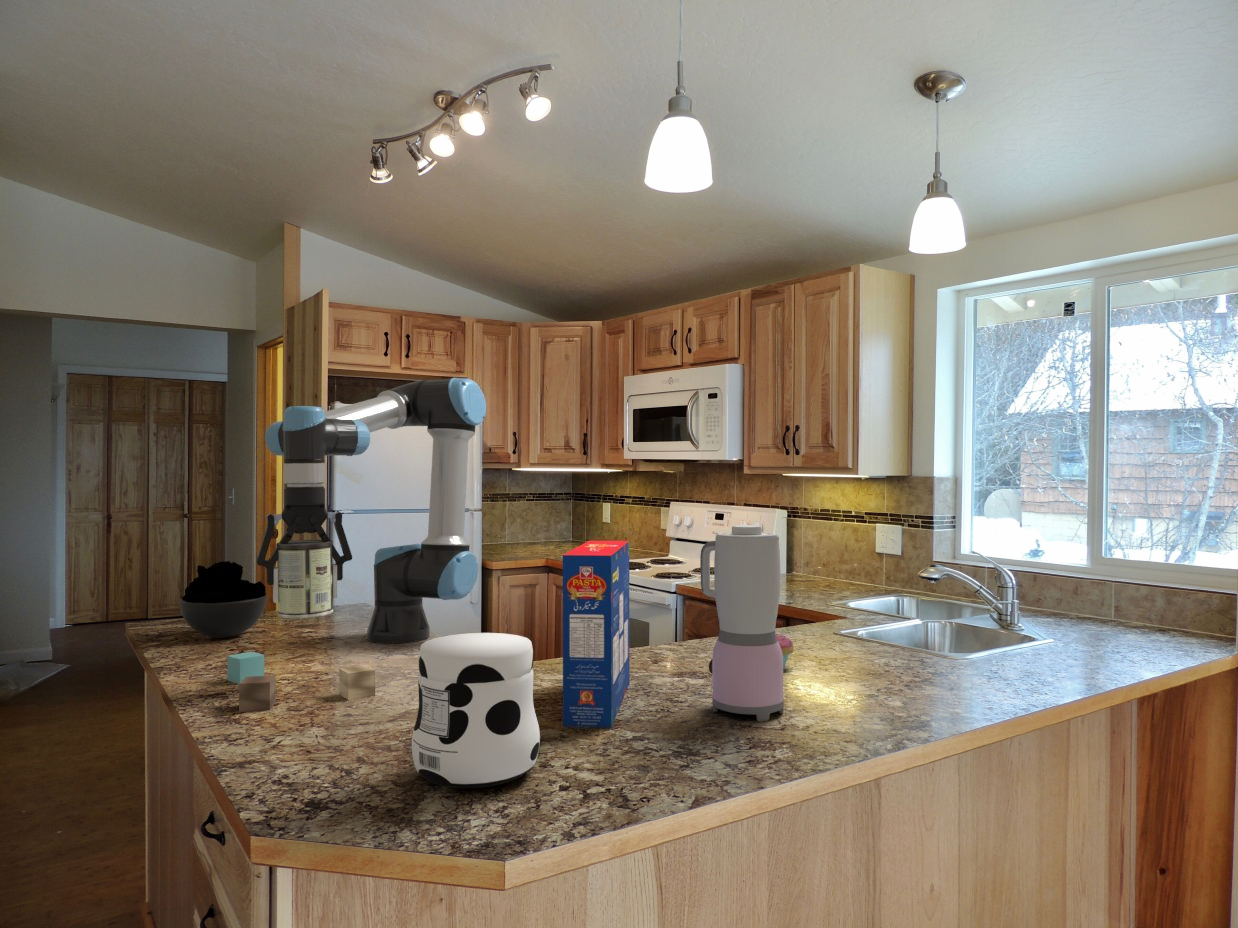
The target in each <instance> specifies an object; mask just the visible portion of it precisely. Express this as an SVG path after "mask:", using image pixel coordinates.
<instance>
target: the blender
mask: <svg viewBox="0 0 1238 928" xmlns="http://www.w3.org/2000/svg"><path fill="white" fill-rule="evenodd" d="M762 527H763V526H761V525H752V524H751V525H750V524H749V525H748V524H747V525H739V524H738V525H732V526H731V531H730V532H729V531H727V532H726V531H725V532H718V533H717V534H716V535H715V539H714V540H710V541H707V542H706V543H704V545H702V547H701V550H700V557H699V559H700V567H699V568H700V574H699V575H700V588H701V592H702V594H703V595H704V596H706V597H707V598H710V599H714V600H715V604H716V609H717V610H716V611H717V616H718V622H719V633H718V638H717V640H716V641H715V644H714V645H713V650H712V659H710V660H709V662H708V663H709V664H708V670H709V673H710V674H711V675H712V676H711V678H712V695H711V696H712V703H711V704H712V711H713V712H715V713H716V712H718V710H720V711H724V712H728V713H732V714H739V715H755V716H756V721H757V722H767V721H769V720H770V714H773V713H777V712H778V713H779V714H784V708H785V707H784V706H785V699H784V669H783V654H782V650H781V647H780V645H779V643H778V641H777V638H776V634H777V633H776V623H777V617H778V610H779V605H780V597H781V553H780V536H779V535H778V534H777V533H773V532H763V528H762ZM713 551H714V562H713V563H714V564H713V566H714V567H713V568H714V570H713V571H714V575H713V576H714V577H713V578H714V582H713V583H714V588H712V587H711V553H712V552H713Z"/></svg>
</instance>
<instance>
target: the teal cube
mask: <svg viewBox="0 0 1238 928" xmlns="http://www.w3.org/2000/svg"><path fill="white" fill-rule="evenodd" d="M226 659H227V665H226V666H227V667H226V669H227V671H226V672H227V674H226V675H227V677H226V679H227V680H228V682H230V681H231V683H234V684H237V685H239V683H240V682H241V681H242V680H243V679H244V678H245V677H253V676H265V654H262V653H259V652H255V651H246V652H242V653H236V654H230V655H227V658H226ZM227 680H226V681H227Z"/></svg>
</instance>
